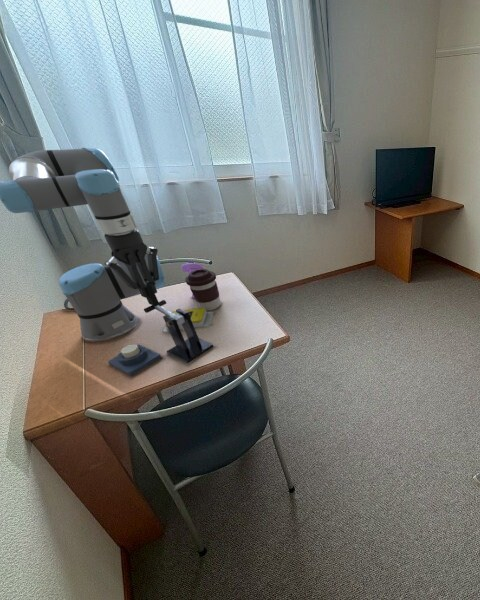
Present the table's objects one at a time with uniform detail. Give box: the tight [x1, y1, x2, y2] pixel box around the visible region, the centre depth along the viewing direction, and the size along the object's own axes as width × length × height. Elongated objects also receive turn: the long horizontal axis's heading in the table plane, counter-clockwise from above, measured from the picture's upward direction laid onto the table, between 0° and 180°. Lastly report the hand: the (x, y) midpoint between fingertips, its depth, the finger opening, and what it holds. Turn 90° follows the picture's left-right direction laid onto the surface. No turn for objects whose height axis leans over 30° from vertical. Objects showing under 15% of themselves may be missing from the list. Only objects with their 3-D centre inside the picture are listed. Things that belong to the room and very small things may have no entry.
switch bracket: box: [162, 308, 214, 364], centre depth 100 cm, size 10×9×15 cm
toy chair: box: [181, 262, 205, 299], centre depth 131 cm, size 8×9×15 cm
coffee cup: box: [184, 268, 221, 311], centre depth 122 cm, size 10×10×15 cm
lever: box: [143, 299, 185, 326], centre depth 98 cm, size 12×6×2 cm, turn 65°
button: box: [120, 344, 140, 358], centre depth 96 cm, size 4×4×2 cm
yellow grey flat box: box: [162, 307, 214, 333], centre depth 116 cm, size 9×4×15 cm
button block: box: [107, 344, 163, 377], centre depth 98 cm, size 11×9×4 cm
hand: (154, 303), depth 99 cm, fingers closed
